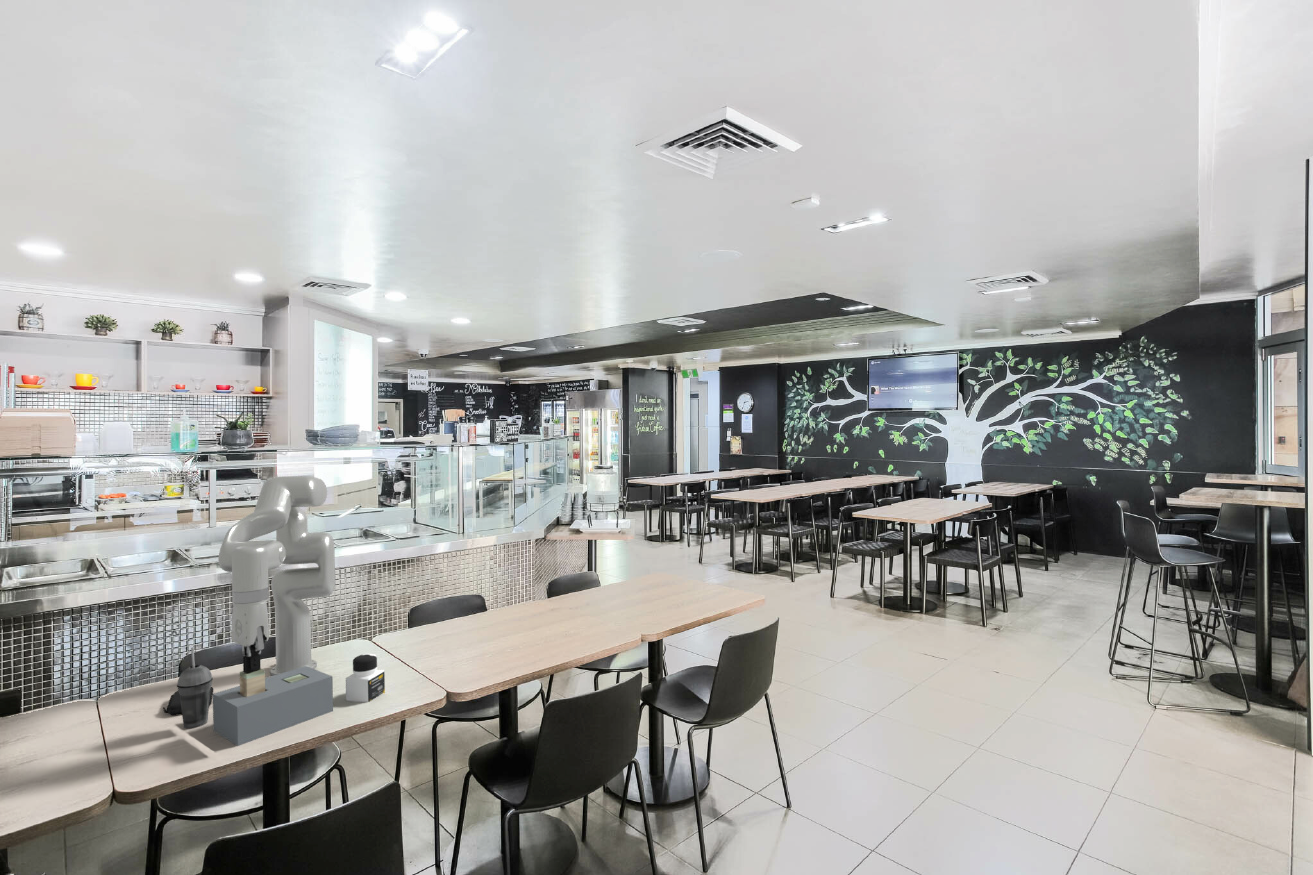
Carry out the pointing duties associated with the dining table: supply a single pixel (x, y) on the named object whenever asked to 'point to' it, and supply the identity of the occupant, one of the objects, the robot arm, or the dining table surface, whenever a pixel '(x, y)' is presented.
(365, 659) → the medicine bottle
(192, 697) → the beverage cup
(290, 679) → the flush peg
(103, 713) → the dining table surface
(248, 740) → the socket block
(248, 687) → the proud peg
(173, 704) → the carrying case or bag
